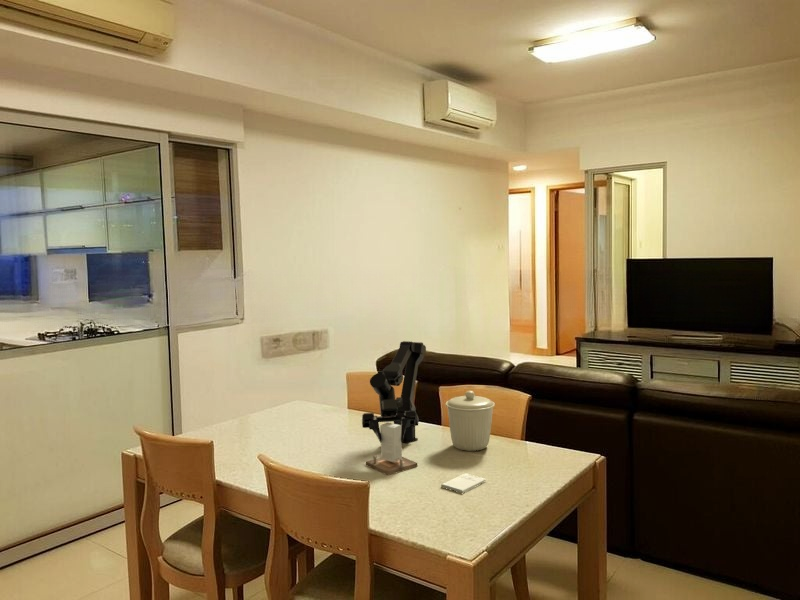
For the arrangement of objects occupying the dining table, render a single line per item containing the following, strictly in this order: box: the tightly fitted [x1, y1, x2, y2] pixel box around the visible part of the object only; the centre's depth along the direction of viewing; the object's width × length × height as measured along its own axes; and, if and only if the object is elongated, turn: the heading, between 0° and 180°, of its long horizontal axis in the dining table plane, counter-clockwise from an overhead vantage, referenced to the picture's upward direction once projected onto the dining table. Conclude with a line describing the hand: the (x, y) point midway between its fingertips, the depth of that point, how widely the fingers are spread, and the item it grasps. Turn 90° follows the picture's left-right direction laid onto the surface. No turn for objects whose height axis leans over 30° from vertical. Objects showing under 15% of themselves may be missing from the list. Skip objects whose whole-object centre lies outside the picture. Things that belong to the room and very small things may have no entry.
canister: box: [445, 390, 496, 452], centre depth 225 cm, size 18×18×21 cm
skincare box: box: [379, 422, 403, 462], centre depth 207 cm, size 6×4×12 cm
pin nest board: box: [365, 455, 418, 476], centre depth 207 cm, size 13×13×4 cm
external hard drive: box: [440, 472, 487, 494], centre depth 190 cm, size 2×8×12 cm
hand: (391, 441), depth 206 cm, fingers closed on skincare box, 7 cm apart
